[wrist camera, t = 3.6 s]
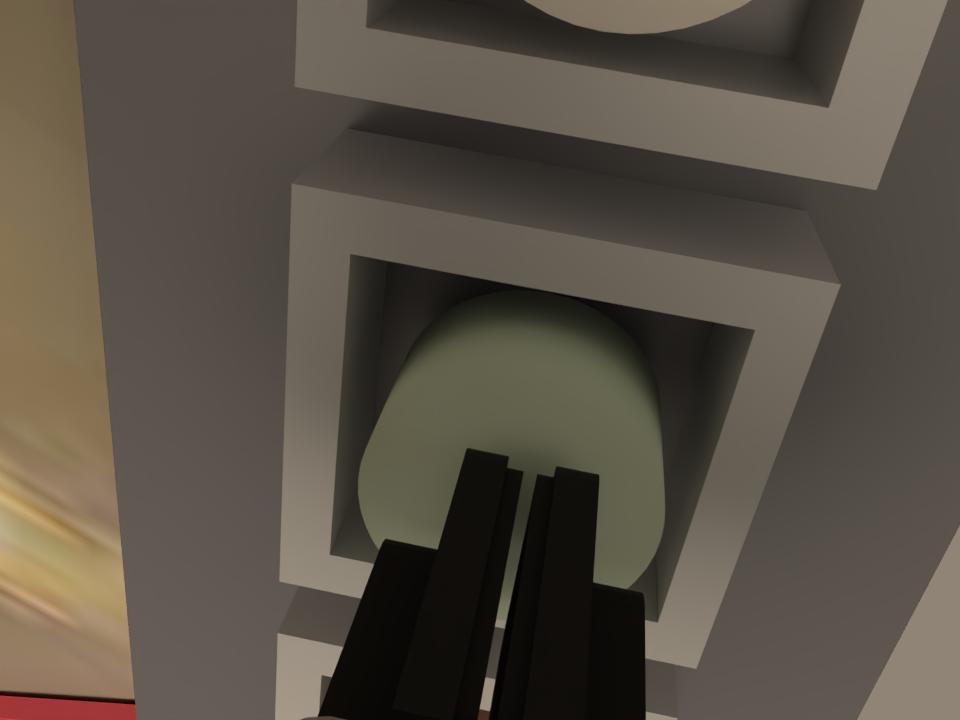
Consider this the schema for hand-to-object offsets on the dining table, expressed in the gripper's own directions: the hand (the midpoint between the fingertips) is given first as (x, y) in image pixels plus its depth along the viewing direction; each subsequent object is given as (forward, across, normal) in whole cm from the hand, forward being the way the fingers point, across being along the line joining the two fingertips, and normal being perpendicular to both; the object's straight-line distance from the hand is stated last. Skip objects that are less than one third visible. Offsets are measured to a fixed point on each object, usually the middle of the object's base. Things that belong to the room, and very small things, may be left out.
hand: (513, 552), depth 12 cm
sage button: (+3, 0, 0) cm, 3 cm away
